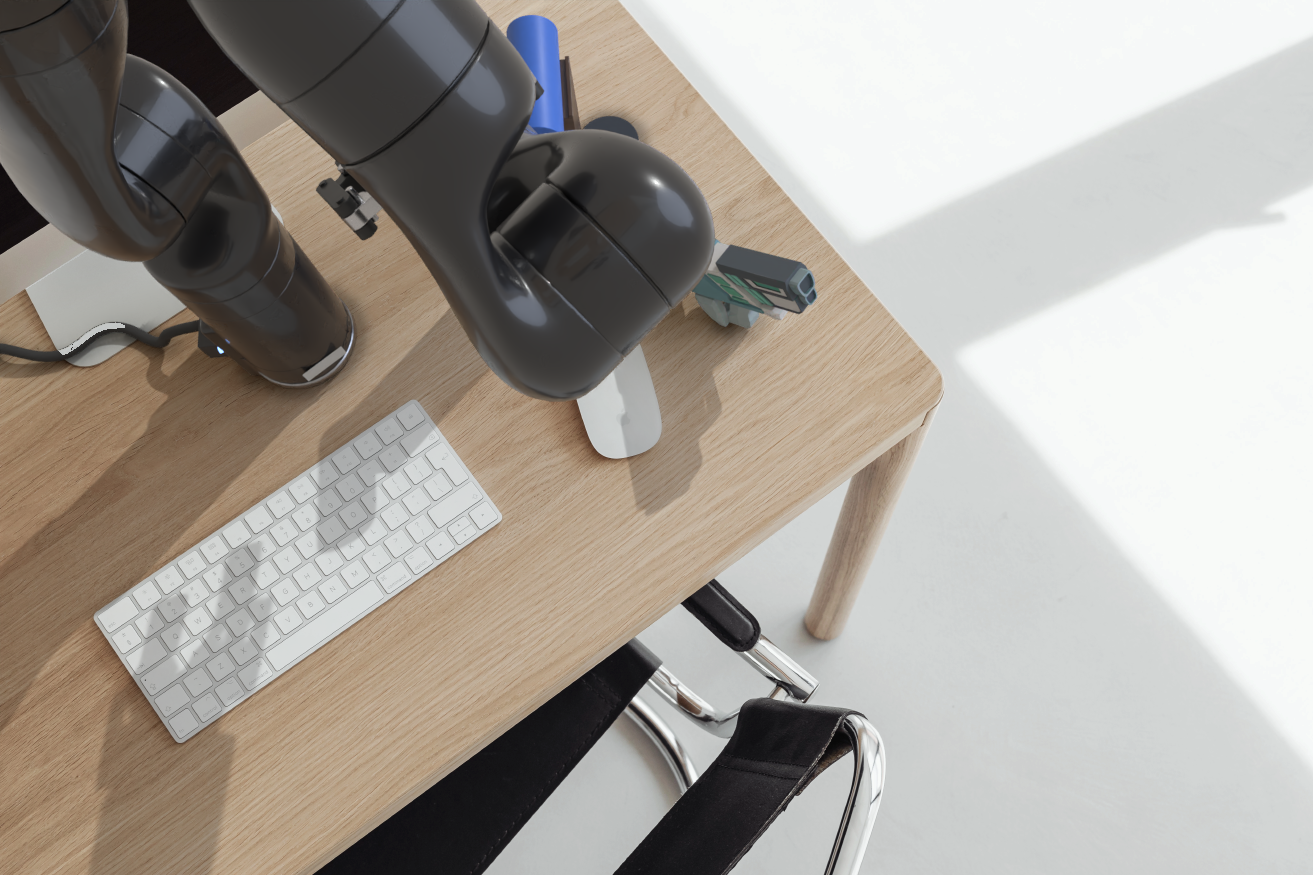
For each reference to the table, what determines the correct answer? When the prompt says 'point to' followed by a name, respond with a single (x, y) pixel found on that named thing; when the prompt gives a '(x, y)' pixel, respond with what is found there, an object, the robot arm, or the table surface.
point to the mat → (613, 126)
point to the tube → (541, 68)
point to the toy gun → (753, 286)
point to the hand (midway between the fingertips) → (402, 116)
